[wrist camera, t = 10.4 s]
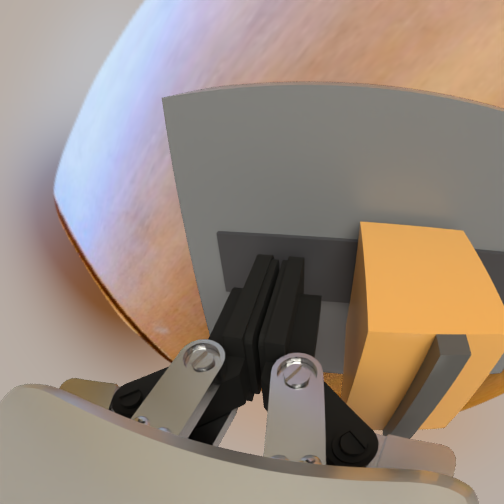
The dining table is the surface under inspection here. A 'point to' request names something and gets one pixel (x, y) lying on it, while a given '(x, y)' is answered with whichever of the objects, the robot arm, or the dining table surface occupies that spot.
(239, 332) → the robot arm
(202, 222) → the switch panel
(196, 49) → the dining table surface
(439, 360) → the orange block
